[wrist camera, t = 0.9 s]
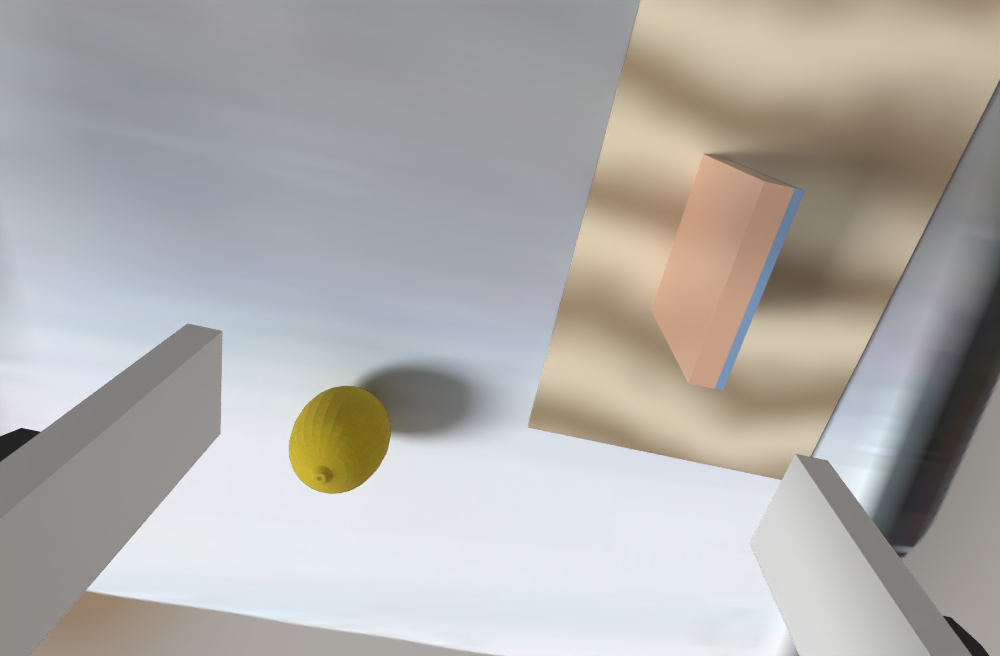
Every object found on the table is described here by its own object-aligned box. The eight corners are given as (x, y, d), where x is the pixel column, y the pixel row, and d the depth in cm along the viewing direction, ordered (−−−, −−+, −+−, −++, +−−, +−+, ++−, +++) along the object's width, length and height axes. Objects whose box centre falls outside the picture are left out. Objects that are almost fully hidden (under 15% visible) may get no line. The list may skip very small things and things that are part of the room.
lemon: (409, 376, 38) (378, 448, 30) (394, 447, 40) (362, 530, 32) (323, 355, 37) (271, 423, 30) (313, 427, 39) (262, 507, 32)
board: (661, -79, 27) (663, -81, 27) (1029, 8, 28) (1035, 7, 28) (528, 424, 38) (528, 427, 38) (794, 479, 39) (797, 482, 39)
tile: (702, 154, 31) (764, 181, 23) (732, 160, 31) (805, 190, 23) (651, 310, 34) (688, 383, 26) (677, 315, 35) (723, 390, 26)
